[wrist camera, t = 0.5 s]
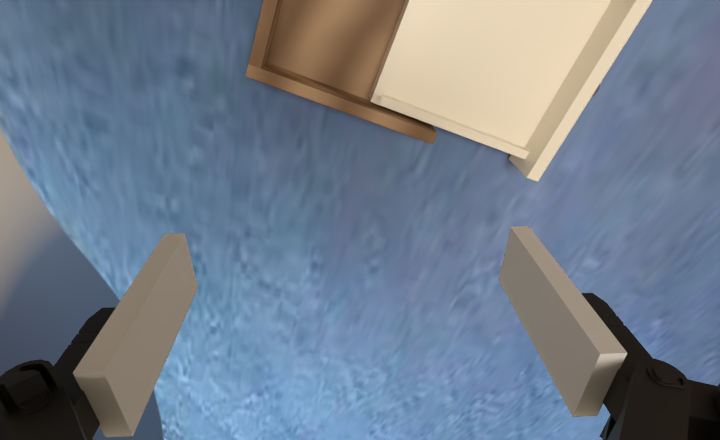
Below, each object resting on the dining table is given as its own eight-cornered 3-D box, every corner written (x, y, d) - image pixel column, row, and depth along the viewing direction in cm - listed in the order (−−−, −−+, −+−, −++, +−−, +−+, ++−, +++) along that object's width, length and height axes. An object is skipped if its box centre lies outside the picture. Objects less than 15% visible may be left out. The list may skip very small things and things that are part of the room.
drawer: (364, 105, 39) (367, 119, 35) (448, -118, 31) (465, -133, 27) (526, 165, 43) (546, 184, 38) (638, -19, 35) (678, -20, 31)
